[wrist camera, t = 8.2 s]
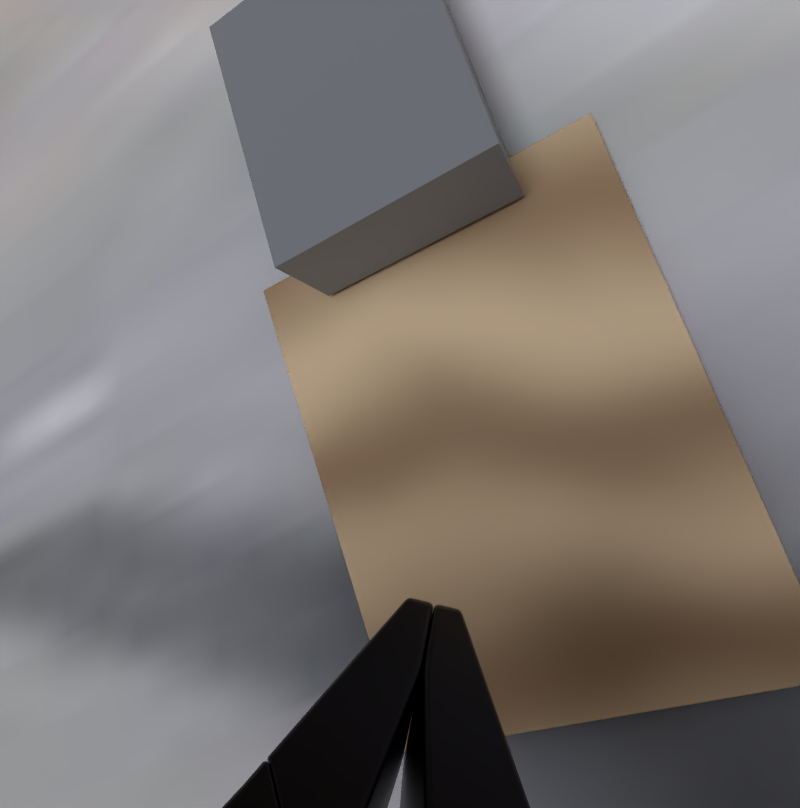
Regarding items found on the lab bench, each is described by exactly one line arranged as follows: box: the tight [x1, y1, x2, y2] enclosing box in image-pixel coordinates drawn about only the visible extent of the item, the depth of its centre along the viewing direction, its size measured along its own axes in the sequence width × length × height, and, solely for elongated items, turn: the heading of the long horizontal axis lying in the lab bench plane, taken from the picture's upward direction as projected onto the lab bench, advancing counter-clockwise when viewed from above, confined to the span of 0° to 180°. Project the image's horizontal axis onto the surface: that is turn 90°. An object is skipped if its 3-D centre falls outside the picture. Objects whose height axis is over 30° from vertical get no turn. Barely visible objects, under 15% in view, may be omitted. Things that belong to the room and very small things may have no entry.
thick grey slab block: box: [210, 0, 524, 296], centre depth 18 cm, size 3×7×9 cm
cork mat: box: [264, 113, 800, 753], centre depth 17 cm, size 16×12×1 cm
